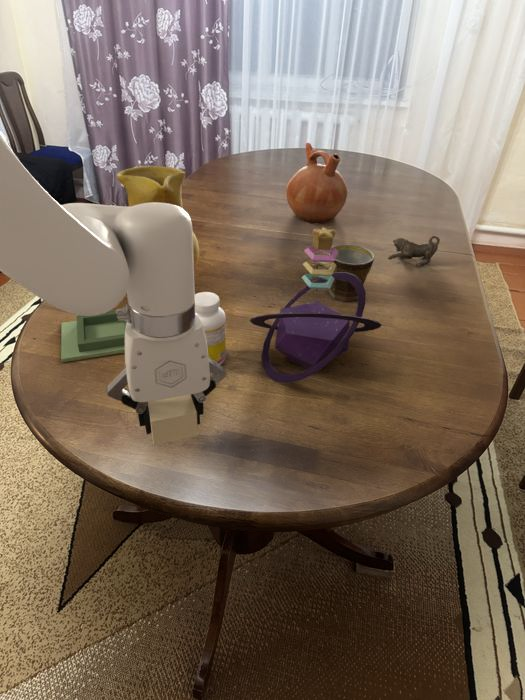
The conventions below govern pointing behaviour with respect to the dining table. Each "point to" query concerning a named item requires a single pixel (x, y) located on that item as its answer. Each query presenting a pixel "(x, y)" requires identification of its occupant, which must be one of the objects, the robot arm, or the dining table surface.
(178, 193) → the pitcher
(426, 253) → the dog figurine
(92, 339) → the green rectangular tray
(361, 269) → the ceramic cup
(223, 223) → the dining table surface
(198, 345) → the robot arm
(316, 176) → the jug
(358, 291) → the purple faceted ringed piece
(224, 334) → the supplement bottle
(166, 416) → the beige cube block
